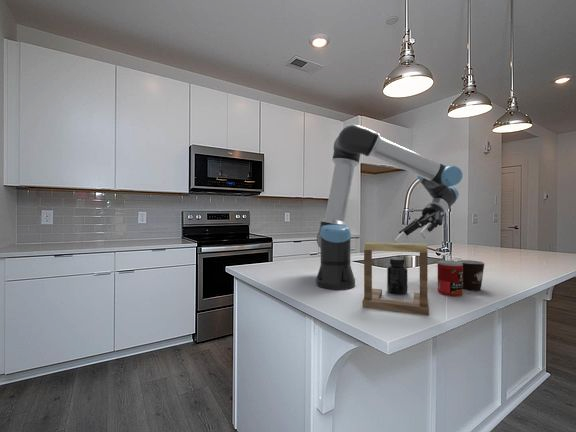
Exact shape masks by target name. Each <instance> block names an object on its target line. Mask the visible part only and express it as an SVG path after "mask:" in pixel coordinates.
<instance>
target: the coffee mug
mask: <svg viewBox="0 0 576 432" xmlns="http://www.w3.org/2000/svg"><path fill="white" fill-rule="evenodd" d="M457 261H458V262H462V263H463V291H467V290H468V292H480V291H482V282H483V277H484V276H483V275H484V270H485V262H484V261H481V260H479V261H478V260H471V259H460V260H457Z"/></svg>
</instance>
